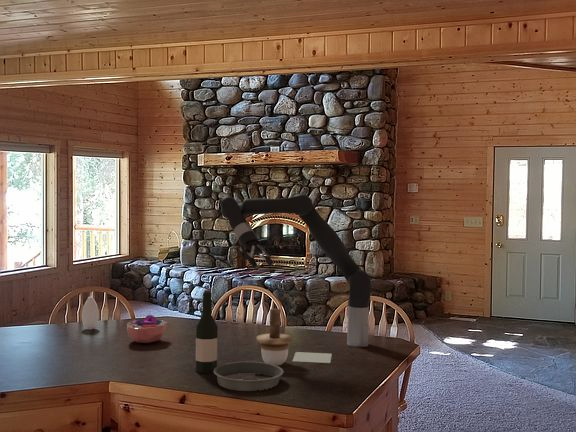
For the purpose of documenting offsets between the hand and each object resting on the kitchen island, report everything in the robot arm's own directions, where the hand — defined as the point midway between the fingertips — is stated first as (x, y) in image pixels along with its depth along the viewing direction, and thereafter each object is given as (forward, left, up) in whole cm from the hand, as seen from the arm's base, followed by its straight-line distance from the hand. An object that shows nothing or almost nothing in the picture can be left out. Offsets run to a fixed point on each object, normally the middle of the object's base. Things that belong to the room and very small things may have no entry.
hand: (263, 265), depth 273 cm
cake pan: (-1, +39, -37) cm, 54 cm away
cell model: (+53, -13, -37) cm, 66 cm away
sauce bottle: (+87, -33, -37) cm, 100 cm away
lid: (-7, +14, -27) cm, 31 cm away
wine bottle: (+17, +27, -37) cm, 49 cm away
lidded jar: (-7, +14, -37) cm, 40 cm away
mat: (-21, +2, -37) cm, 42 cm away
